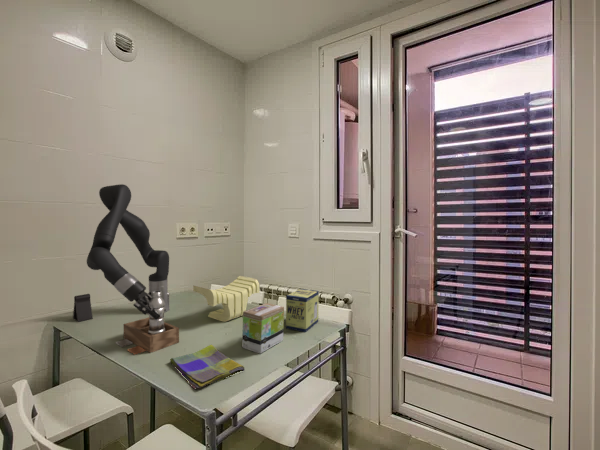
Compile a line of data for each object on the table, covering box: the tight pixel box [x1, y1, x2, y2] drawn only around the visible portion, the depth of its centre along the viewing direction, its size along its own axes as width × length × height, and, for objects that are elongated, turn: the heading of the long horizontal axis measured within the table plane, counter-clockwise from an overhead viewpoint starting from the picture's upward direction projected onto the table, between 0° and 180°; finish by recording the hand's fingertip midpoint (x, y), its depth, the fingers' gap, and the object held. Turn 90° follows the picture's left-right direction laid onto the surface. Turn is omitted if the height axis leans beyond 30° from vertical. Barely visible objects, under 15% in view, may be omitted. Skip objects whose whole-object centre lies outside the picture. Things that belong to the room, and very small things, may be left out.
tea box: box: [241, 302, 285, 354], centre depth 121 cm, size 15×10×15 cm, turn 148°
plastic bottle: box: [148, 291, 165, 336], centre depth 120 cm, size 6×7×20 cm
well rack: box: [115, 316, 180, 356], centre depth 122 cm, size 16×23×6 cm
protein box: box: [285, 288, 320, 333], centre depth 142 cm, size 10×16×16 cm
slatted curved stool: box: [192, 275, 260, 323], centre depth 154 cm, size 30×16×18 cm, turn 144°
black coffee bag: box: [72, 293, 93, 323], centre depth 149 cm, size 9×6×12 cm, turn 51°
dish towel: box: [169, 344, 245, 390], centre depth 102 cm, size 18×24×3 cm
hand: (161, 315), depth 121 cm, fingers open, 6 cm apart
